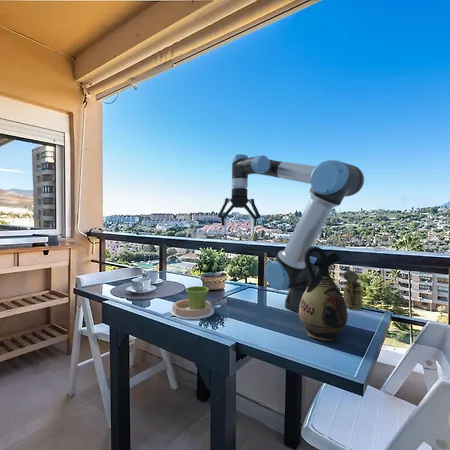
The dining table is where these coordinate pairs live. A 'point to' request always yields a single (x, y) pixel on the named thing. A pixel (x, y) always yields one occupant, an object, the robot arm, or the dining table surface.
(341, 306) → the ceramic jug
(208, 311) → the ring collar
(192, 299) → the plant pot
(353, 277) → the stone figurine
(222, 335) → the dining table surface
